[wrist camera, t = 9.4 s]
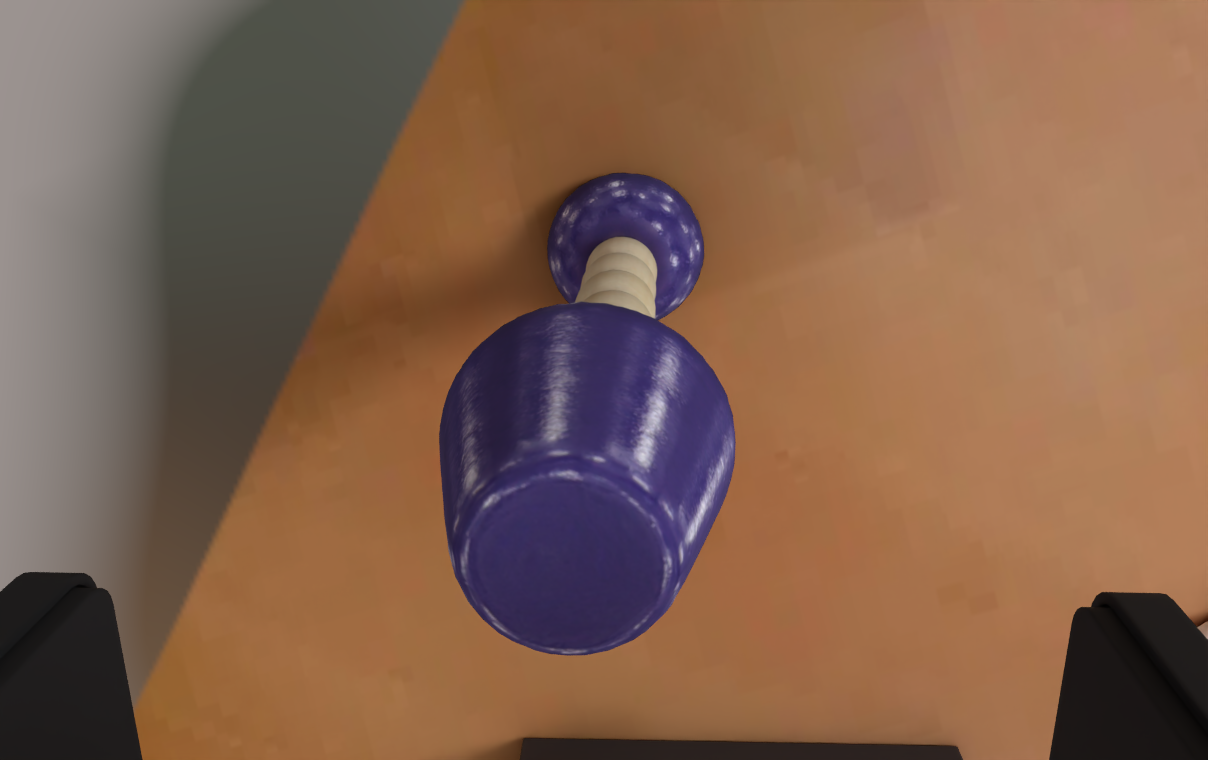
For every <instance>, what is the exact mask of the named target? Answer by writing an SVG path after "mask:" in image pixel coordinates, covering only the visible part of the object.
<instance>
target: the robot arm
mask: <svg viewBox="0 0 1208 760" xmlns="http://www.w3.org/2000/svg"><path fill="white" fill-rule="evenodd" d="M0 760H142V755H141V750H140V744H139V739H138V734H137V728H136V723H135V718H134V712H133V707H132V702H131V696H130V691H129V685H128V680H127V675H126V670H125V664H124V659H123V653H122V648H121V643H120V637H119V632H118V627H117V621H116V616H115V610H114V605H113V601H112V598H111V596H110V594H109V593H108V591H107V590H105V589H103V588H97V587H96V584H95V582H94V581H93V579H92V578H91V577H90V576H88V575H87V574H85V573H49V572H46V573H45V572H28V573H23V574H21V575H20V576H18V577H16V578H15V579H14V580H13V581H12V582H11V583H10V584H8V585H7V586H6V587H5V588H4V589H3V590H2V591H1V592H0ZM1049 760H1208V639H1207V638H1206V637H1205V636H1204V635H1203V634H1202V632H1201V631H1200V630H1199V629H1198V628H1197V627H1196V625H1195V624H1194V623H1193V622H1192V621H1191V620H1190V619H1189V617H1188V616H1187V615H1186V614H1185V613H1184V612H1183V611H1182V609H1181V608H1180V607H1179V606H1178V605H1177V604H1176V603H1175V601H1174V600H1173V599H1171V598H1170V597H1169V596H1168V595H1166V594H1161V593H1118V592H1102V593H1100V594H1098V595H1097V596H1096V597H1095V599H1094V601H1093V603H1092V606H1091V607H1080V608H1079V609H1077V611H1076V612H1075V614H1074V617H1073V621H1072V625H1071V631H1070V637H1069V643H1068V649H1067V655H1066V662H1065V668H1064V674H1063V680H1062V686H1061V692H1060V698H1059V704H1058V710H1057V716H1056V722H1055V728H1054V734H1053V740H1052V746H1051V752H1050V758H1049Z"/></svg>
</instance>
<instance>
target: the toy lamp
mask: <svg viewBox="0 0 1208 760" xmlns="http://www.w3.org/2000/svg"><path fill="white" fill-rule="evenodd" d="M547 251H548V262H549V267H550V271H551V274H552V277H553V279H554V282H555V283H556V285H557V288H558V290H559V291H560V293H561V294H562V296H563V297H564V298H565V299H566V300H567V301H568V302H569V304H557V305H553V306H549V307H544V308H540V309H538V310H535V311H533V312H531V313H527V314H524V315H522V316H519V317H517V318H516V319H514V320H513V321H511V322H509V323H507V324H505V325H503V326H502V327H500V328H499V329H498V330H497V331H495V332H494V333H493V334H492V335H491V336H489V337H488V338H487V339H486V340H485V341H483V342H482V343H481V344H480V345H479V346H478V347H477V348H476V349H475V350H474V351H473V352H472V353H471V355H470V356H469V357H468V359H467V360H466V361H465V363H464V364H463V366H462V368H461V369H460V371H459V372H458V373H457V375H456V377H455V379H454V381H453V383H452V385H451V387H450V389H449V392H448V395H447V398H446V401H445V405H444V408H443V413H442V418H441V424H440V433H439V445H440V465H441V477H442V491H443V502H444V517H445V525H446V532H447V539H448V549H449V554H450V558H451V562H452V566H453V569H454V573H455V577H456V579H457V580H458V582H459V584H460V586H461V588H462V590H463V592H464V594H465V596H466V598H467V600H468V602H469V603H470V604H471V606H472V607H473V608H474V609H475V610H476V612H477V613H478V614H479V615H480V616H481V618H482V619H483V620H484V621H486V622H487V623H488V624H489V625H490V626H491V627H492V628H494V629H495V630H496V631H497V632H498V633H500V634H501V635H503V636H505V637H507V638H509V639H510V640H512V641H514V642H516V643H519V644H521V645H524V646H526V647H529V648H531V649H533V650H536V651H540V652H545V653H549V654H558V655H588V654H593V653H598V652H603V651H608V650H611V649H613V648H615V647H618V646H620V645H622V644H625V643H627V642H629V641H632V640H634V639H635V638H637V637H638V636H640V635H641V634H643V633H644V632H645V631H647V630H648V629H649V628H650V627H651V626H652V625H653V624H654V623H655V622H656V621H657V620H658V619H659V618H660V617H662V615H663V614H664V613H665V612H666V611H667V610H668V609H669V607H670V606H671V605H672V603H673V601H674V599H675V597H676V595H677V594H678V592H679V590H680V589H681V587H682V585H683V584H684V582H685V580H686V578H687V576H688V574H689V572H690V570H691V568H692V566H693V564H694V562H695V560H696V558H697V556H698V554H699V552H700V550H701V548H702V546H703V544H704V542H705V540H706V538H707V536H708V534H709V532H710V529H711V527H712V525H713V523H714V521H715V519H716V517H717V515H718V513H719V511H720V509H721V506H722V504H723V501H724V499H725V497H726V494H727V491H728V487H729V484H730V481H731V477H732V472H733V468H734V460H735V431H734V423H733V415H732V411H731V408H730V405H729V402H728V397H727V395H726V393H725V391H724V388H723V387H722V385H721V383H720V381H719V380H718V378H717V376H716V374H715V373H714V371H713V369H712V368H711V367H710V366H709V365H708V364H707V362H706V361H705V359H704V358H703V356H702V355H701V354H700V353H699V352H698V351H697V350H696V349H695V348H694V347H693V346H692V345H691V344H690V343H689V342H688V341H687V340H686V339H685V338H684V337H683V336H681V335H680V334H679V333H677V332H676V331H674V330H672V329H671V328H669V327H667V326H666V325H664V324H662V323H661V322H659V321H658V320H659V319H661V318H663V317H665V316H666V315H668V314H669V313H671V312H672V311H673V310H675V309H676V308H677V307H679V306H680V305H681V303H682V302H683V301H684V300H685V299H686V298H687V296H688V295H689V294H690V293H691V291H692V290H693V288H694V286H695V284H696V282H697V280H698V277H699V275H700V271H701V268H702V265H703V259H704V242H703V237H702V234H701V228H700V225H699V222H698V220H697V219H696V217H695V215H694V213H693V211H692V209H691V207H690V205H689V204H688V203H687V202H686V201H685V199H684V198H683V197H682V196H681V195H680V194H679V193H678V192H677V191H676V190H674V189H673V188H671V187H670V186H669V185H667V184H666V183H664V182H662V181H661V180H658V179H655V178H652V177H650V176H646V175H640V174H628V173H612V174H609V175H606V176H602V177H599V178H596V179H593V180H590V181H589V182H587V183H585V184H583V185H581V186H579V187H578V188H577V189H576V190H575V191H574V192H573V193H572V194H571V195H570V196H569V197H567V198H566V199H565V201H564V203H563V204H562V205H561V207H560V208H559V210H558V211H557V214H556V216H555V218H554V220H553V222H552V225H551V228H550V232H549V236H548V245H547Z"/></svg>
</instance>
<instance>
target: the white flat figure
mask: <svg viewBox="0 0 1208 760" xmlns="http://www.w3.org/2000/svg"><path fill="white" fill-rule="evenodd" d="M1197 628H1198V629H1199V630H1200V631H1201V632H1202V634H1203V635H1204V636H1205V637H1206V638H1207V639H1208V621H1207V622H1205V623H1204V624H1202V625H1200V626H1199V627H1197Z"/></svg>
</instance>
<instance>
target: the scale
mask: <svg viewBox="0 0 1208 760" xmlns="http://www.w3.org/2000/svg"><path fill="white" fill-rule="evenodd" d="M520 760H963V759H962V756H961V754H960V752H959V749H958V747H956V746H918V745H864V744H810V743H757V742H703V741H649V740H595V739H542V738H525V739H523V743H522V749H521V755H520Z"/></svg>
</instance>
